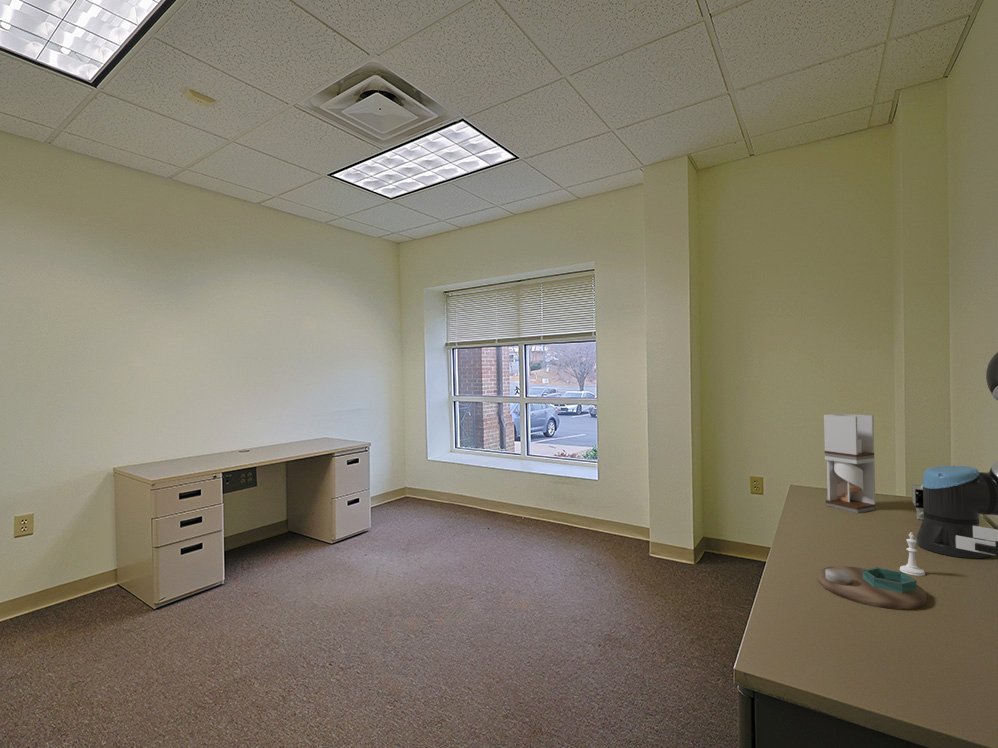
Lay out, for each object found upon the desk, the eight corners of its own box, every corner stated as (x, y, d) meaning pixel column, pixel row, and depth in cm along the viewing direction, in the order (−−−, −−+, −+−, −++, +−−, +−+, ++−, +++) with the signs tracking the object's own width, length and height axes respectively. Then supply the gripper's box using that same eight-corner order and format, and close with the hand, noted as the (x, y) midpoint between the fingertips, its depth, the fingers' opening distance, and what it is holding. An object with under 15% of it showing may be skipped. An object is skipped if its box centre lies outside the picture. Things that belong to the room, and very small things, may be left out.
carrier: (892, 575, 121) (892, 561, 121) (950, 613, 101) (949, 596, 101) (804, 569, 125) (803, 556, 125) (843, 605, 105) (842, 589, 105)
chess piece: (919, 569, 124) (918, 530, 124) (929, 577, 120) (928, 536, 120) (896, 567, 126) (895, 528, 126) (904, 574, 121) (903, 534, 121)
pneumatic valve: (916, 522, 164) (915, 486, 164) (912, 514, 174) (911, 480, 174) (938, 525, 161) (937, 488, 161) (932, 516, 171) (931, 482, 171)
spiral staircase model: (825, 505, 187) (823, 414, 187) (843, 502, 191) (841, 413, 191) (857, 513, 176) (855, 416, 177) (875, 509, 180) (873, 415, 181)
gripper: (1101, 597, 89) (948, 563, 107) (1117, 568, 103) (980, 542, 121) (1099, 556, 90) (947, 529, 107) (1116, 533, 104) (979, 512, 121)
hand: (964, 536), depth 114 cm, fingers open, 13 cm apart
